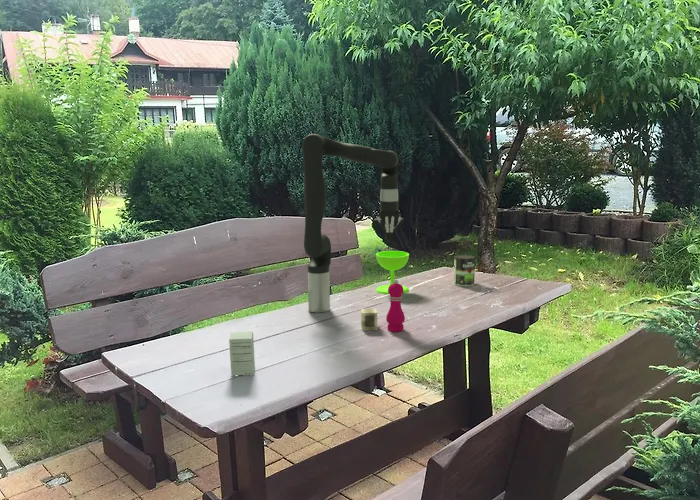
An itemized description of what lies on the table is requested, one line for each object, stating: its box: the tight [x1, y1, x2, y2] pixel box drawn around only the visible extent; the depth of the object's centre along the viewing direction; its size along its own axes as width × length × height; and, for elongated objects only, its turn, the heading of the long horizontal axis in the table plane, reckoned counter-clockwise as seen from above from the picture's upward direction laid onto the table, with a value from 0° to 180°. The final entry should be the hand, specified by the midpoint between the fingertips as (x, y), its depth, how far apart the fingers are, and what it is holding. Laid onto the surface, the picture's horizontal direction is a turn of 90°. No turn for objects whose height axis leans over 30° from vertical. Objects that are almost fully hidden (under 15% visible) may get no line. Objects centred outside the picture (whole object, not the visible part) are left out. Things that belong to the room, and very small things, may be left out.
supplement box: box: [228, 330, 256, 376], centre depth 200 cm, size 7×7×13 cm
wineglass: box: [375, 250, 410, 295], centre depth 297 cm, size 16×16×18 cm
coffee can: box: [453, 254, 476, 287], centre depth 308 cm, size 10×10×14 cm
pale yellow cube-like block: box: [360, 308, 378, 331], centre depth 243 cm, size 6×6×7 cm
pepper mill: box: [385, 279, 406, 333], centre depth 239 cm, size 7×7×20 cm
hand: (389, 241), depth 258 cm, fingers closed
